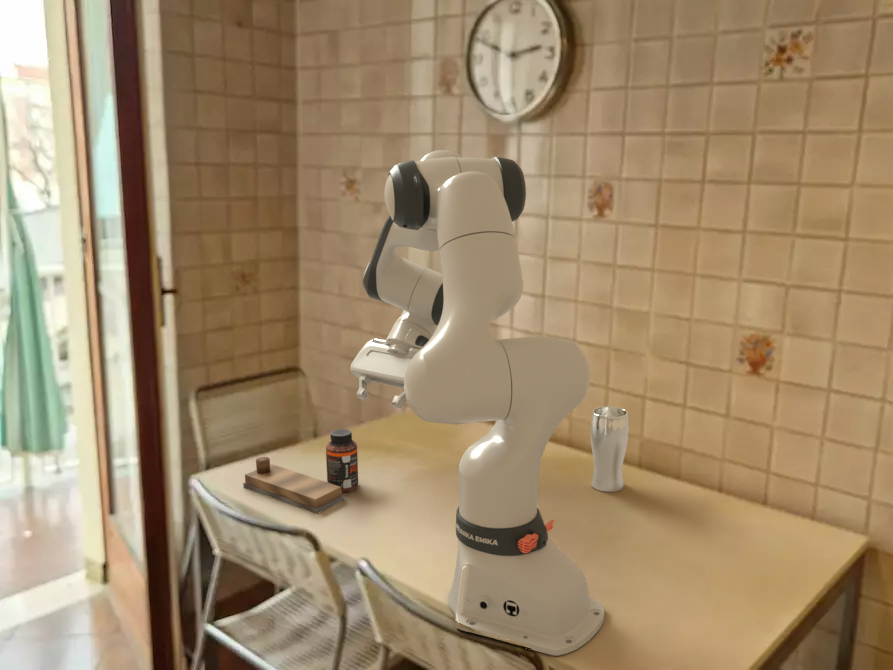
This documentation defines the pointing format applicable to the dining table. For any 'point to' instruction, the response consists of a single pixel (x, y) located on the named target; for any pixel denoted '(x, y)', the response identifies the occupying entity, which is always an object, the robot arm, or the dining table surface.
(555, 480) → the dining table surface
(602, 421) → the beer glass
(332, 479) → the supplement bottle
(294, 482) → the body
